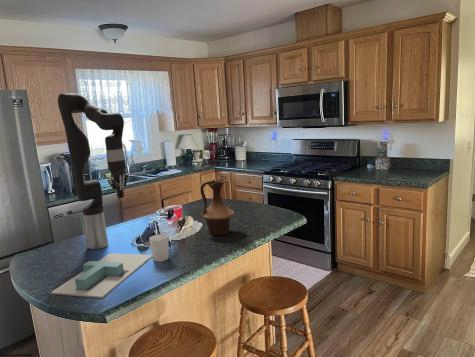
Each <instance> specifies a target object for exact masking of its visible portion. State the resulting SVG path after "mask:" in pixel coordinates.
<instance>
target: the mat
mask: <svg viewBox="0 0 475 357" xmlns="http://www.w3.org/2000/svg"><path fill="white" fill-rule="evenodd" d="M151 259H153V256H152V254H135V253H133V254H132V253H117V252H115V253H113V252H111V253H109V254H107V255H105V256H103V258H101V259H99V260H98V261H100V262H118V263H123V268H124V272H123V273H122V274H121V275H120V276H104V277H103V278H101V279H100V280H99V281H97V282H96V283H95V284H93V285H92V286H91V287H89V288H88V289H86V290H78V289H76V283H75V279H76V278H78V277H79V276H81V275H82V274H84V270H83V271H81V272H79V273H78V274H77V275H75V276H74V277H72V278H70V279H69V280H67V281H66V282H64V283H63V284H62V285H60V286H58V287H57V288H55V289H54V290H52V291H51V292H50V294H52V295H61V296H62V295H64V296H71V297H72V296H73V297H74V296H75V297H83V298H94V299H95V298H96V299H103V298H105V297H106V296H107V295H108V294H109V293H111V292H112V291H114V289H116V287H118V286H119V285H120V284H121V283H123V282H124V281H125V280H127V279H128V278H129V277H131V275H132V274H134V273H135V272H136V271H137V270H138V269H139V267H140V268H141V267H142V266H143V265H145V264H146V263H147V262H148V261H149V260H151ZM145 262H146V263H145Z"/></svg>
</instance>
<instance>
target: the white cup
mask: <svg viewBox="0 0 475 357" xmlns="http://www.w3.org/2000/svg"><path fill="white" fill-rule="evenodd" d="M168 238H169V236H168V235H167V234H164V233H161V234H155V235H152V236H150V237H149V238H148V239H149V246H150V251H151V255H152V256H153V257H152V260H153V261H154V262H156V263H157V262H158V263H160V262H165V261H167V260H168V259H169V239H168Z"/></svg>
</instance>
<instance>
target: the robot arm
mask: <svg viewBox="0 0 475 357" xmlns="http://www.w3.org/2000/svg"><path fill="white" fill-rule="evenodd" d="M57 104H58V109H59V114H60V116H61V120H62V123H63V126H64V131H65V137H66V142H67V147H68V152H69V156H70V157H69V158H70V160H71V165H72V171H73V177H74V178H73V179H74V186H75V193H76V196H77V199H78V200H79V201H80V202H86V201H91V200H92V201H91V202H90V203H89V204H88V205H86V206H84V207H83V209H82V214H83V219H84V227H85V228H84V229H83V232H84V239H85V245H86V248H87V249H90V250H99V249H103V248H105V247H107V246H109V241H108V235H107V226H106V221H105V220H106V219H105V213H104V202H103V190H102V185H101V182H100V181H99V180H98V179H92V180H91V179H90V180H84V172H85V169H86V166H87V163H88V162H89V159H90V156H91V148H90V143H89V139H88V137H87V135H86V134H85V133H84V132H83V131H82V130H81V128H80V127H79V126H78V125H77V124H76V121H75V120H74V116H73V115H72V114H79V113H81V114H84V115H85V117H86V118H87V119H88V120H89V121H91V122H93V123H94V124H96V126H98V128H99V129H101V130H102V131H112V133H111V134H110V135H107V136H106V137H105V138H104V144H105V150H106V153H105V154H106V155H105V157H106V161H107V169H108V170H107V171H109V172H110V179H107V183H108V184H109V185H110V187H111V188H112V189H113V190H116V194H117V198H118V199H123V198H124V197H125V192H124V191H125V190H124V189H125V187H127V184H128V180H129V174H126V172H125V170H126V169H127V166H126V158H125V157H126V155H125V151H124V145H123V135H124V134H123V133H124V126H125V120H124V117H123V116H122V115H121V113H119V112H112V113H111V112H110V113H108V111H107V110H105V109H104V108H102V107H100V106H97V105H95V104H93V103H92V102H91V101H89V100H88V99H87V98H85V96H83V95H82V94H79V93H75V92H74V93H71V92H69V93H67V92H66V93H59V95H58V97H57Z"/></svg>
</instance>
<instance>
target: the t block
mask: <svg viewBox="0 0 475 357" xmlns="http://www.w3.org/2000/svg"><path fill="white" fill-rule="evenodd" d="M82 269H83V271H84V274H82V275H81V276H79V277H78V278H76V279H75V283H76V289H78V290H86V289H88V288H89V287H91V286H92V285H93V284H95V283H96V282H97V281H99V280H100V279H101V278H103V277H104V276H120V275H121V274H122V273H123V272H124V268H123V263H118V262H100V261H99V260H97V261H96V260H88V261H87V262H85V263H84V264H82Z"/></svg>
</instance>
